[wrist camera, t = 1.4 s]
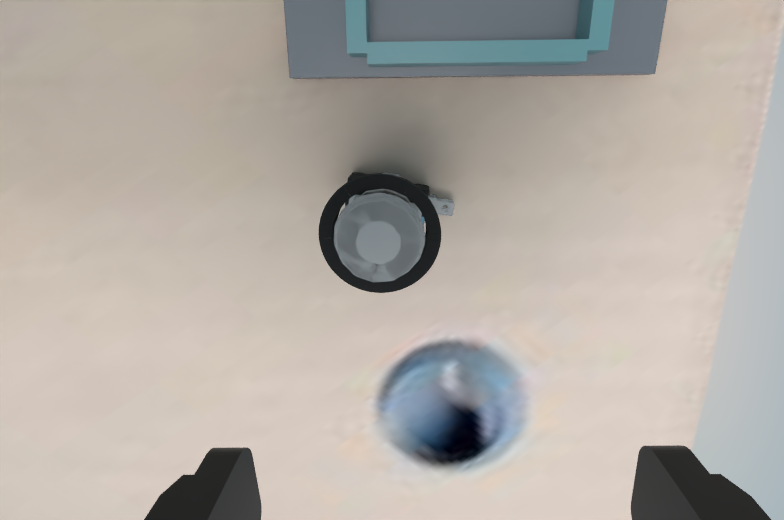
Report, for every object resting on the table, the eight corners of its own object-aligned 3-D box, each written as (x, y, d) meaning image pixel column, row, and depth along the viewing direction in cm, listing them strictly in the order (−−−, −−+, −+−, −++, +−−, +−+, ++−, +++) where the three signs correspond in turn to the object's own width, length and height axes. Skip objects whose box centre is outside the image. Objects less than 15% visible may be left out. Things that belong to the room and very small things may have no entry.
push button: (458, 163, 27) (486, 193, 18) (443, 246, 29) (461, 313, 20) (349, 147, 27) (320, 169, 18) (341, 231, 29) (309, 292, 20)
